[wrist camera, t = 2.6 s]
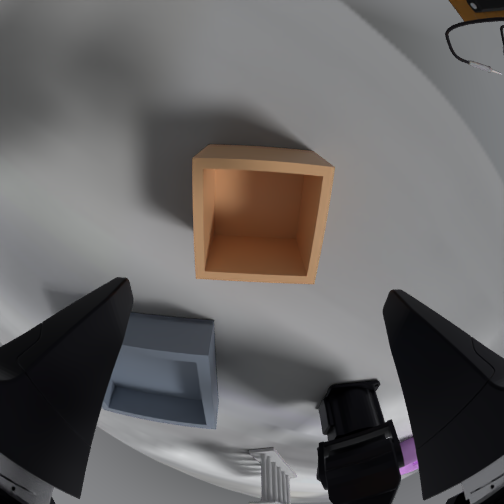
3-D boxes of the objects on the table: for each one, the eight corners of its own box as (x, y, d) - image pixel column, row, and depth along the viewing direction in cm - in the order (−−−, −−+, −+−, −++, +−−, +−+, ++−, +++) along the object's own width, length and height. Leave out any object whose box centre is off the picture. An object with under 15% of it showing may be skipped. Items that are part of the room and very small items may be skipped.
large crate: (213, 320, 23) (208, 355, 20) (218, 401, 30) (216, 429, 26) (75, 304, 23) (57, 331, 19) (112, 385, 30) (104, 409, 26)
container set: (387, 460, 51) (395, 499, 40) (376, 452, 45) (386, 499, 33) (469, 419, 44) (483, 456, 33) (474, 401, 38) (493, 446, 27)
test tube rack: (248, 449, 39) (248, 514, 28) (273, 446, 39) (276, 513, 27) (279, 476, 51) (280, 521, 39) (296, 474, 50) (300, 519, 39)
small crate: (313, 151, 16) (334, 167, 12) (300, 242, 20) (314, 284, 15) (208, 144, 16) (192, 158, 12) (208, 237, 19) (196, 278, 15)
